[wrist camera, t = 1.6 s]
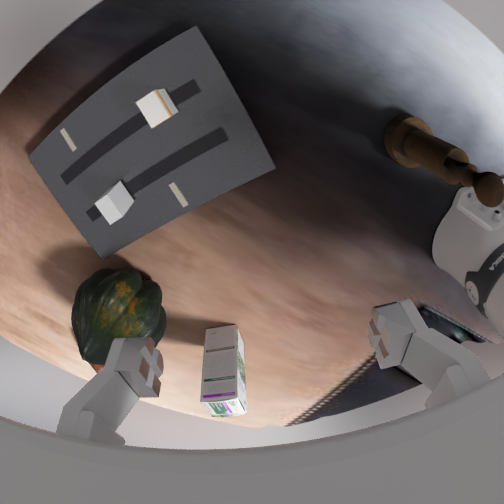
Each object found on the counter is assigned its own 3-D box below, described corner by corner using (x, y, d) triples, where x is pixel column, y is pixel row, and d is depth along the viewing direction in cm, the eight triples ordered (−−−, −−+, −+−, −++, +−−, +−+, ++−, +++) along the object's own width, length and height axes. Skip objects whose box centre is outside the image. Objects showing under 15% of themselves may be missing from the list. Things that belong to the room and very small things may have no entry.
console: (200, 29, 25) (196, 25, 22) (273, 160, 34) (276, 169, 31) (40, 150, 31) (27, 157, 28) (109, 247, 40) (101, 260, 37)
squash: (200, 324, 41) (115, 356, 28) (152, 362, 47) (81, 391, 34) (154, 245, 45) (69, 251, 31) (116, 294, 51) (45, 308, 38)
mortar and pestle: (430, 152, 33) (521, 214, 18) (392, 170, 35) (475, 243, 20) (416, 107, 30) (519, 148, 15) (376, 124, 31) (470, 175, 16)
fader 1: (120, 180, 31) (106, 194, 28) (134, 201, 32) (122, 216, 29) (108, 189, 31) (94, 203, 28) (122, 208, 33) (110, 224, 30)
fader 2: (164, 87, 26) (153, 89, 22) (179, 111, 27) (170, 117, 24) (147, 98, 26) (135, 102, 23) (162, 122, 28) (151, 129, 24)
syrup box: (204, 328, 49) (197, 402, 37) (238, 323, 49) (237, 399, 37) (214, 348, 52) (210, 418, 40) (246, 343, 52) (247, 415, 40)
